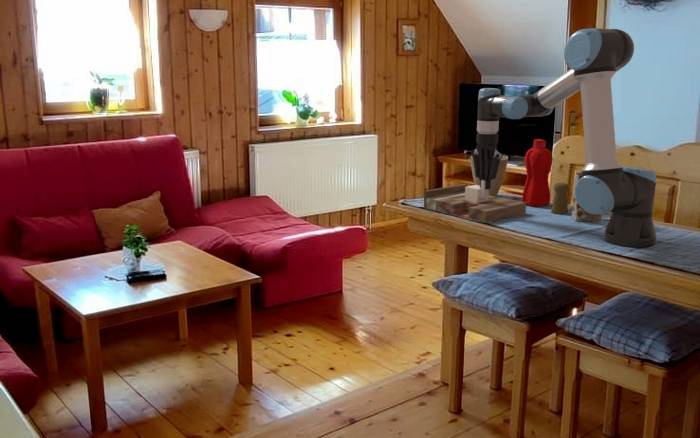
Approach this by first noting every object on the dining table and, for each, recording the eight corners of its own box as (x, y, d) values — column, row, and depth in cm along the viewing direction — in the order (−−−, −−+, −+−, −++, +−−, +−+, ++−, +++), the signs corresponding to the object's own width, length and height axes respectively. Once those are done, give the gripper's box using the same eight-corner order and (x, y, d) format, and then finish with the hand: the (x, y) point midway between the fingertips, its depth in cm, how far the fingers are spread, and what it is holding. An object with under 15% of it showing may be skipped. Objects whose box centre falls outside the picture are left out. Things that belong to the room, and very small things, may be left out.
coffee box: (575, 221, 246) (578, 175, 242) (571, 217, 252) (574, 172, 249) (602, 222, 245) (606, 176, 242) (597, 217, 251) (601, 173, 248)
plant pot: (462, 193, 293) (463, 155, 289) (494, 191, 297) (496, 153, 294) (479, 200, 279) (481, 160, 275) (513, 198, 283) (515, 158, 280)
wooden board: (525, 213, 258) (526, 196, 256) (485, 222, 244) (486, 204, 243) (463, 200, 280) (463, 183, 279) (423, 207, 267) (424, 190, 265)
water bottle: (556, 205, 272) (561, 139, 266) (534, 208, 267) (538, 141, 261) (540, 200, 280) (544, 137, 274) (518, 203, 275) (522, 138, 269)
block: (487, 200, 260) (488, 187, 259) (477, 202, 257) (477, 189, 255) (475, 198, 265) (476, 184, 264) (464, 200, 261) (465, 186, 260)
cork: (571, 213, 258) (573, 183, 255) (557, 215, 255) (560, 185, 253) (561, 210, 263) (563, 181, 261) (547, 211, 261) (549, 182, 258)
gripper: (509, 133, 249) (505, 199, 255) (480, 130, 259) (477, 193, 265) (495, 135, 245) (491, 202, 250) (466, 131, 254) (463, 196, 260)
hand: (484, 197), depth 257 cm, fingers closed
